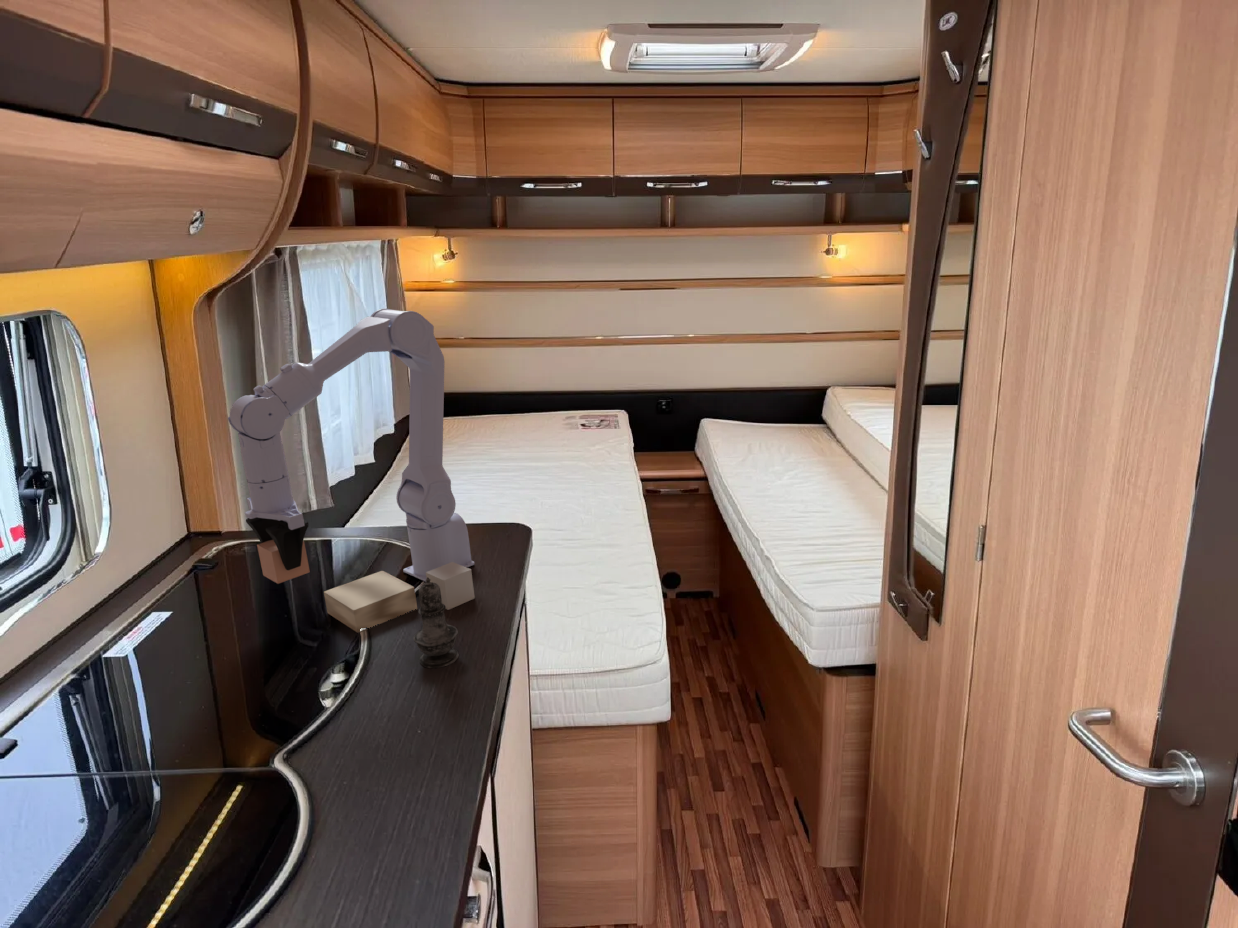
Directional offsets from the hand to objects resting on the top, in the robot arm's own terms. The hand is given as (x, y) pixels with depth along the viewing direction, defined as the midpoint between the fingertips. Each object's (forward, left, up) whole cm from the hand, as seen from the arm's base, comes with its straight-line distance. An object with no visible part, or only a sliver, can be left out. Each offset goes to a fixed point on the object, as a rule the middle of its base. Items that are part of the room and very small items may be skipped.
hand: (285, 563), depth 130 cm
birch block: (-9, +7, -10) cm, 15 cm away
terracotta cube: (0, 0, -2) cm, 2 cm away
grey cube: (-19, +14, -9) cm, 26 cm away
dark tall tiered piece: (-7, +28, -10) cm, 31 cm away
